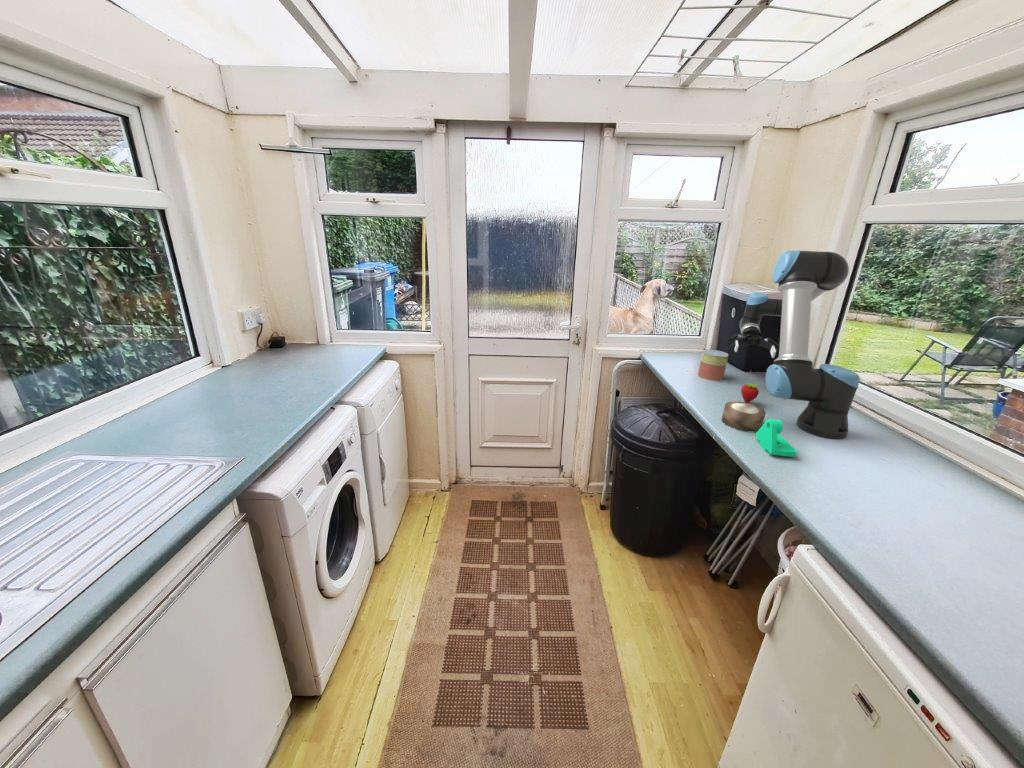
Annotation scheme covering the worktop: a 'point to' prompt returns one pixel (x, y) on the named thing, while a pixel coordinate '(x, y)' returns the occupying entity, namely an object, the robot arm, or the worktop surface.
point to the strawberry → (749, 392)
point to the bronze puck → (743, 416)
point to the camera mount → (774, 439)
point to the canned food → (713, 365)
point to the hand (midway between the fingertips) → (755, 352)
